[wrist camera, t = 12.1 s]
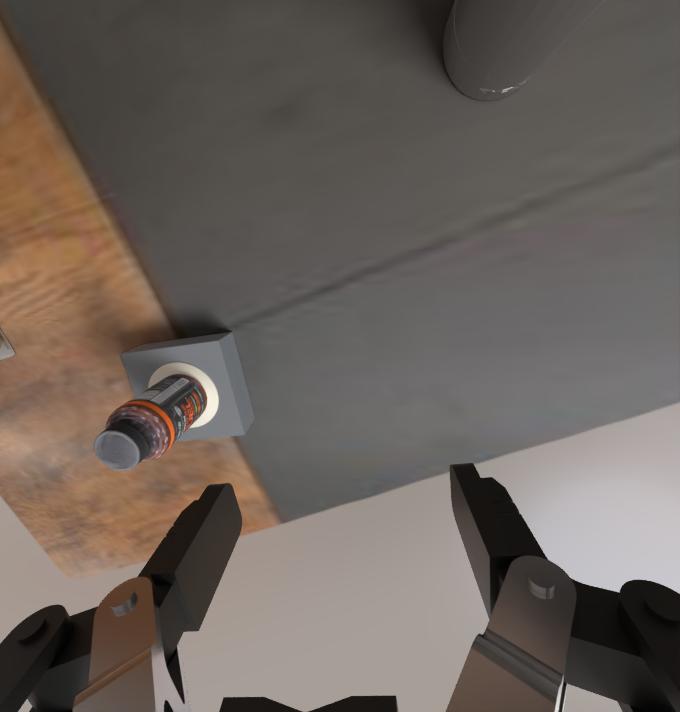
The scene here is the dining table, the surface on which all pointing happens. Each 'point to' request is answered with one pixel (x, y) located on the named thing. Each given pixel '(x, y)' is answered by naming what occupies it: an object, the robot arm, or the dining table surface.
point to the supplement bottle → (150, 422)
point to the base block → (210, 368)
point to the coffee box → (5, 347)
